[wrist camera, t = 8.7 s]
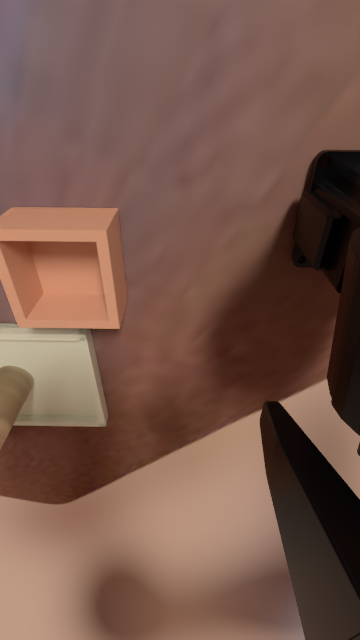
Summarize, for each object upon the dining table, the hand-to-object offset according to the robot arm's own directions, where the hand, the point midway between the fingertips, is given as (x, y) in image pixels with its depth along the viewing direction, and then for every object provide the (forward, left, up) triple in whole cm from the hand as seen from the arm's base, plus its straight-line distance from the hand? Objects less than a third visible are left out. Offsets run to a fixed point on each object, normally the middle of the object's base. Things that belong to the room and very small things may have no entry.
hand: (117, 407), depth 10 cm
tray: (+12, +12, -12) cm, 21 cm away
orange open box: (+5, +1, -12) cm, 14 cm away
